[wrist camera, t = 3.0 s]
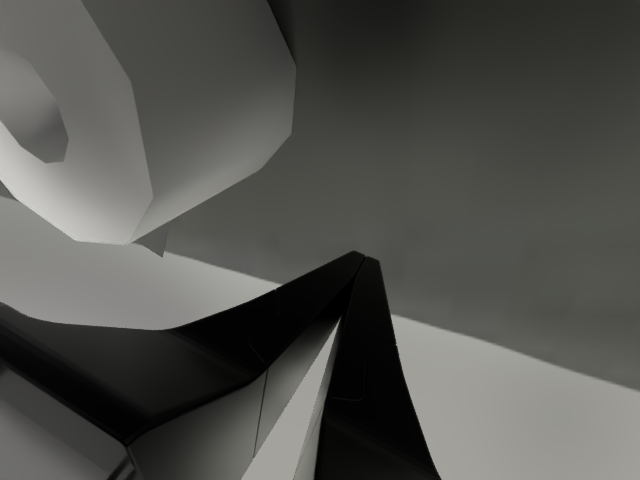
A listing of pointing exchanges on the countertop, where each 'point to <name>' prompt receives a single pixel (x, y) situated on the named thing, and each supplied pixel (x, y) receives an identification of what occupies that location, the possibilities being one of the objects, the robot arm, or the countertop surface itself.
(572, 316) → the countertop surface
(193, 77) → the toilet tissue
